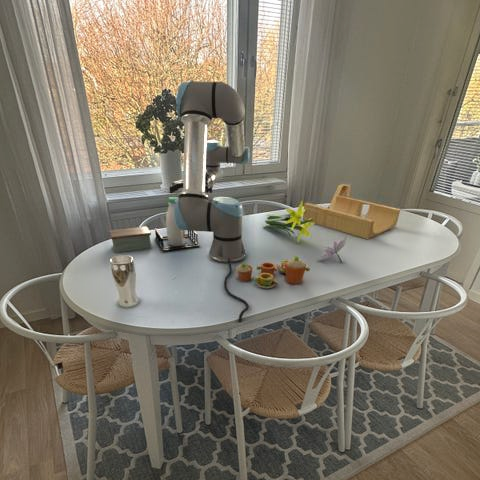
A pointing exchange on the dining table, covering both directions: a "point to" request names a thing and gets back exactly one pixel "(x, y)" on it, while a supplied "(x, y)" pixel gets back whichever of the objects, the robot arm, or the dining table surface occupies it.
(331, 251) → the water lily
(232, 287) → the dining table surface
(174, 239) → the milk bottle
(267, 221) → the daffodil flowers
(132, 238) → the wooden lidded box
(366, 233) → the skate ramp
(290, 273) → the toy tea set
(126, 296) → the beer glass
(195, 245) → the dish rack
